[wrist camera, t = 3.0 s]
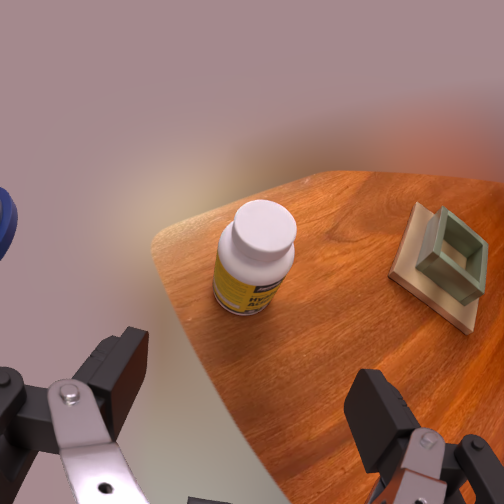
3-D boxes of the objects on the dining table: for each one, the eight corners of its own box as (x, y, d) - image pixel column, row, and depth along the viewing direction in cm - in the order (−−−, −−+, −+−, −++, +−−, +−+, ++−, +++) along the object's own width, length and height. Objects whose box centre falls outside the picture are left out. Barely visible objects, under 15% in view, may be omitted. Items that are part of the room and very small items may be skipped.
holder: (387, 276, 30) (411, 254, 26) (412, 206, 37) (430, 184, 33) (466, 335, 28) (493, 321, 24) (478, 259, 35) (499, 242, 31)
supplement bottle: (243, 329, 25) (268, 280, 17) (199, 286, 27) (202, 219, 18) (285, 289, 28) (323, 228, 19) (242, 250, 29) (261, 178, 21)
